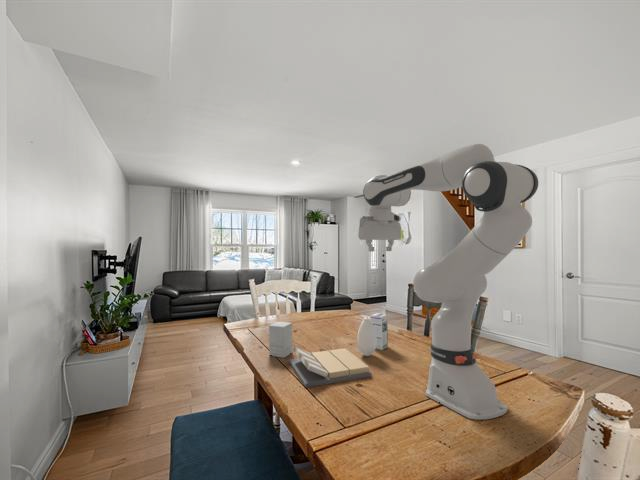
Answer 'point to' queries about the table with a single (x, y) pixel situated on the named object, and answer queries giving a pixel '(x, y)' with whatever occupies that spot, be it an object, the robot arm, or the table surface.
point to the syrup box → (380, 330)
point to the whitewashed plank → (310, 362)
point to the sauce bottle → (366, 337)
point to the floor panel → (319, 378)
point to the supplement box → (280, 339)
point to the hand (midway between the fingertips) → (380, 251)
